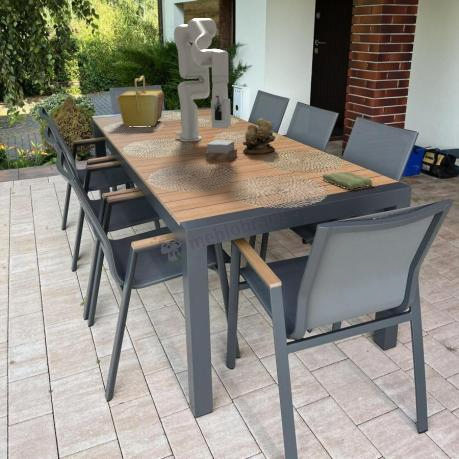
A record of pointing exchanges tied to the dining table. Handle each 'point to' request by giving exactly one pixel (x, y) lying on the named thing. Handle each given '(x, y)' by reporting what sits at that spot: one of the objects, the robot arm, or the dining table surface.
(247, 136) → the carved figurine
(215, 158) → the walnut base block
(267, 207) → the dining table surface
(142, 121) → the picnic basket
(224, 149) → the grey top block
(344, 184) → the washcloth
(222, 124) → the supplement box
